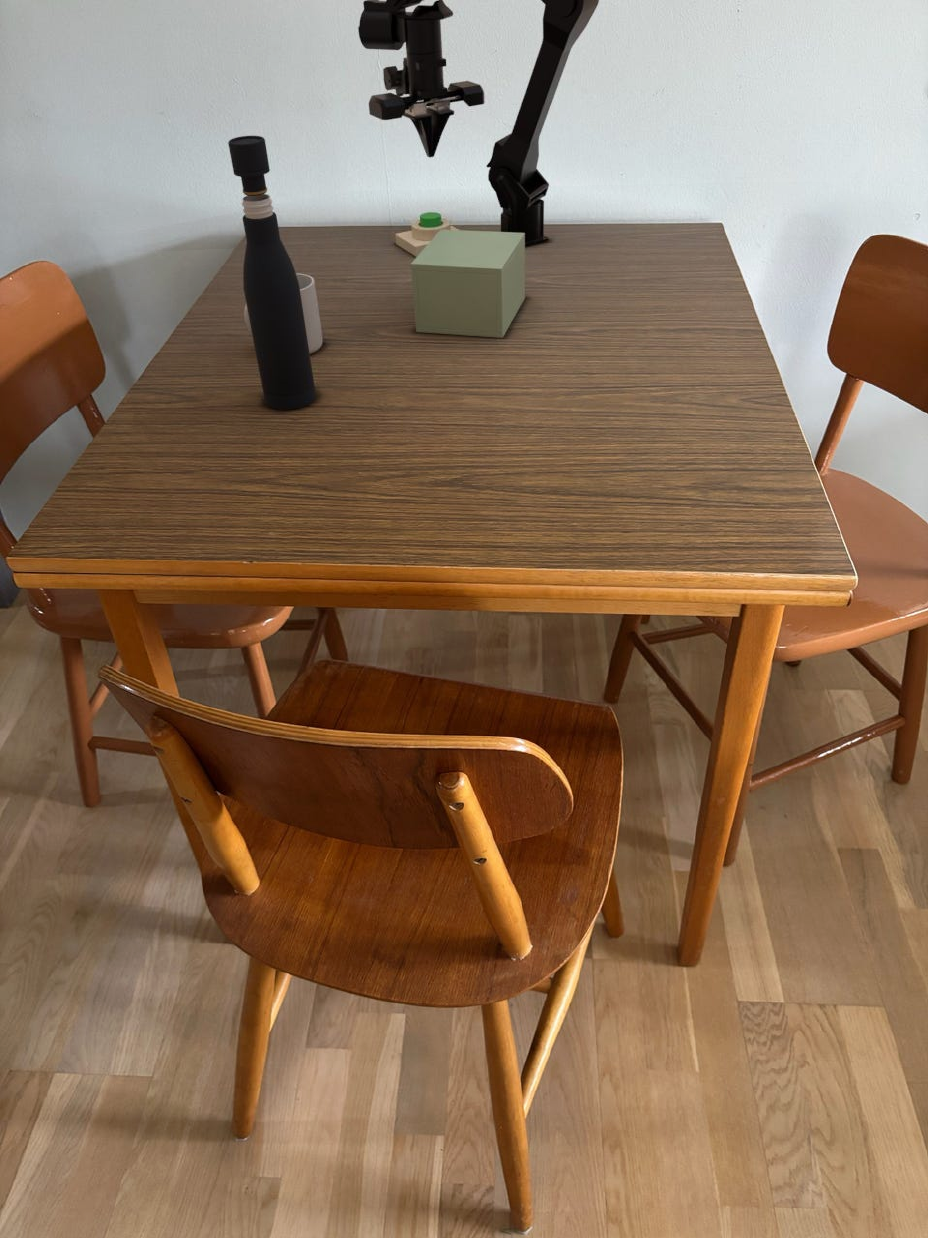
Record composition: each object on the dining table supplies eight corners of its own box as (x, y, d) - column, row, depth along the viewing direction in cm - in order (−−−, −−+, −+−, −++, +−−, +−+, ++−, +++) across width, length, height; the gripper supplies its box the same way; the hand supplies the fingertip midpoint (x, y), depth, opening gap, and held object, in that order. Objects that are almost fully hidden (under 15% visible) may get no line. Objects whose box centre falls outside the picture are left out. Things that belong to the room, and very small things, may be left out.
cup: (325, 354, 131) (316, 289, 125) (252, 363, 129) (239, 298, 124) (321, 333, 136) (312, 270, 130) (250, 342, 135) (238, 279, 129)
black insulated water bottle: (274, 415, 117) (225, 150, 98) (258, 394, 122) (208, 138, 103) (323, 402, 119) (284, 140, 100) (305, 382, 124) (265, 129, 105)
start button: (435, 221, 164) (435, 210, 162) (445, 226, 161) (444, 215, 160) (416, 225, 162) (416, 214, 161) (426, 230, 160) (425, 219, 159)
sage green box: (444, 293, 146) (440, 229, 140) (524, 298, 143) (524, 232, 137) (415, 332, 135) (410, 263, 129) (502, 338, 132) (501, 268, 126)
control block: (447, 232, 168) (446, 212, 166) (468, 245, 163) (468, 223, 160) (395, 243, 165) (394, 222, 162) (416, 256, 159) (414, 235, 157)
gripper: (452, 37, 161) (457, 138, 171) (350, 51, 155) (361, 155, 165) (484, 46, 153) (487, 151, 163) (378, 61, 147) (388, 169, 157)
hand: (430, 156), depth 162 cm, fingers closed
